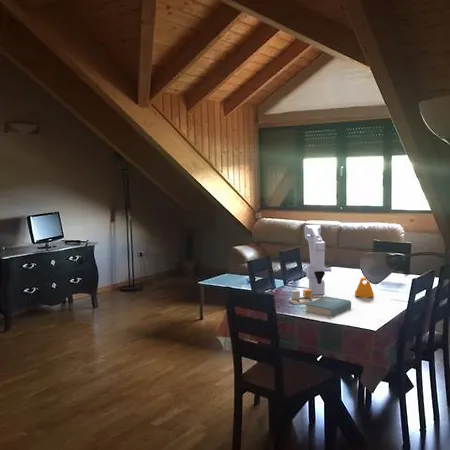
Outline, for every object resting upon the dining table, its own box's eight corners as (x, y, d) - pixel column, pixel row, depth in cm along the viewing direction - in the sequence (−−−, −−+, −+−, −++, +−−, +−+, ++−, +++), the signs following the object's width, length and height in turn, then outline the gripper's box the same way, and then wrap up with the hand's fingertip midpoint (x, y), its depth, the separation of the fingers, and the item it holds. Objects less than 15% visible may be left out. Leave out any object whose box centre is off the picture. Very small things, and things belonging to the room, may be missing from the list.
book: (325, 304, 322) (325, 296, 322) (351, 309, 312) (351, 300, 312) (305, 312, 305) (305, 303, 305) (331, 317, 295) (331, 308, 294)
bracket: (372, 295, 344) (373, 276, 343) (373, 298, 337) (374, 278, 335) (354, 294, 346) (355, 275, 345) (355, 297, 339) (355, 278, 337)
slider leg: (309, 296, 333) (309, 289, 332) (313, 299, 326) (313, 291, 325) (303, 297, 332) (303, 289, 331) (307, 300, 325) (307, 292, 324)
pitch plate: (323, 298, 335) (323, 288, 335) (329, 302, 327) (329, 291, 326) (289, 300, 330) (289, 290, 330) (294, 304, 322) (294, 293, 321)
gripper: (310, 263, 326) (310, 285, 328) (333, 262, 330) (333, 284, 331) (306, 261, 333) (306, 283, 334) (328, 260, 336) (328, 282, 338)
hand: (319, 283), depth 333 cm, fingers closed
